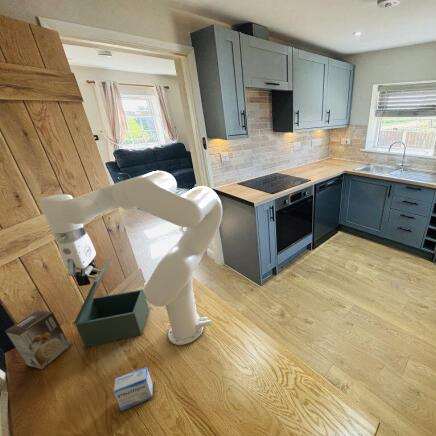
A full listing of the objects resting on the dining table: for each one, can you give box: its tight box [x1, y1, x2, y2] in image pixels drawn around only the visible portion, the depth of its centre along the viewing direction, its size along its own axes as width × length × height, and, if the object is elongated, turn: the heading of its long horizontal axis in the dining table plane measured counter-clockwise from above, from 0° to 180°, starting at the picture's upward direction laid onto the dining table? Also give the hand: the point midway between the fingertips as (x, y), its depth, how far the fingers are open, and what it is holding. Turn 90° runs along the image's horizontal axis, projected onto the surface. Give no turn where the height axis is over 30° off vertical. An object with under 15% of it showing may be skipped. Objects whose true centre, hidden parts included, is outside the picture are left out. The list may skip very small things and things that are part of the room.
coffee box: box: [4, 309, 71, 370], centre depth 78 cm, size 9×6×16 cm
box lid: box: [73, 258, 112, 325], centre depth 84 cm, size 18×14×6 cm
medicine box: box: [112, 366, 154, 412], centre depth 68 cm, size 8×4×9 cm, turn 118°
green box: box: [75, 288, 150, 348], centre depth 91 cm, size 18×14×11 cm
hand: (88, 279), depth 83 cm, fingers closed on box lid, 5 cm apart
